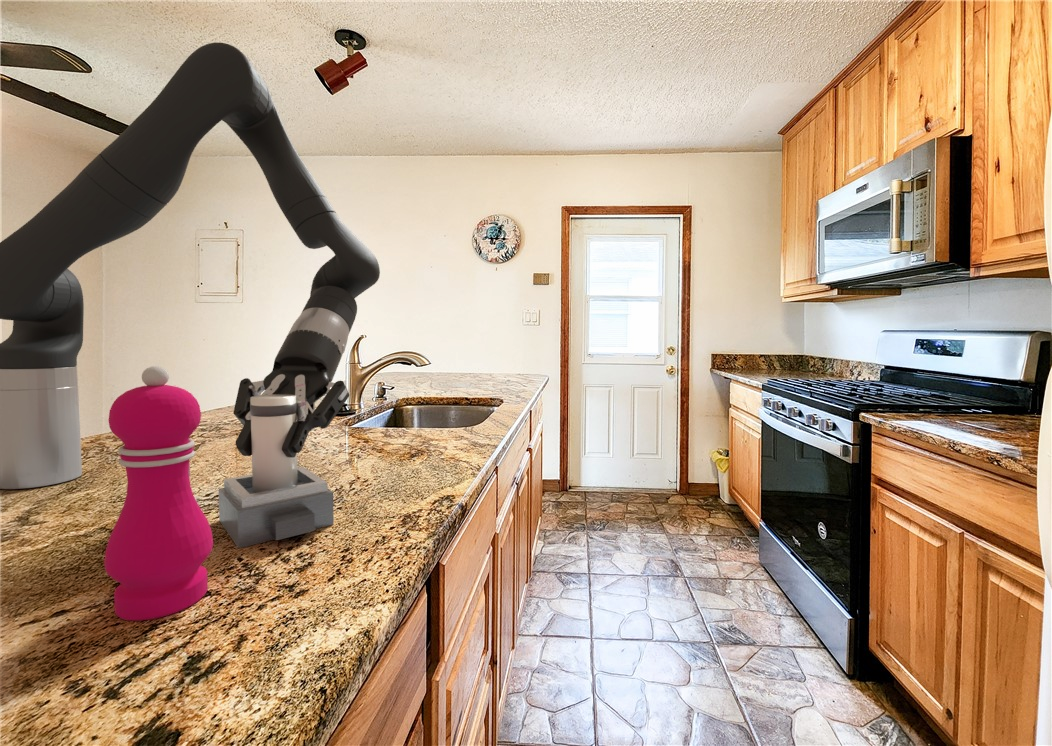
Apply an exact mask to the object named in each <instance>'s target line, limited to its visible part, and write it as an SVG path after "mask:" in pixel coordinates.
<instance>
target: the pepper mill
mask: <svg viewBox="0 0 1052 746" xmlns="http://www.w3.org/2000/svg"><path fill="white" fill-rule="evenodd" d="M169 374H170V373H169V372H168V371H167V370H166V369H165V368H164V367H162V366H159V365H158V366H157V365H155V366H154V365H153V366H149V367H147V368H146V369H144V370H143V372H142V374H141V380H142V383H144V385H142V386H136V387H134V388H131V389H129V390H127V391H125V392H123V393H122V394H120V395H118V397H116V398H115V400H114V401H113V403H112V404H111V406H110V409H109V414H108V426H109V429H110V430H111V433H113V435H114V436H115V437H117V438H118V439H119V440H121V441H122V443H123V445H122V446H120V447H119V448H118V449H117V452H118V453H119V454H120V455H119V457H120V458H119V460H118V464H119V465H120V466H122V467H125V472H126V478H127V483H126V484H127V486H126V495H125V499H124V504H123V507H122V509H121V512H120V514H119V516H118V518H117V521H116V523H115V525H114V527H113V529H112V531H111V533H110V535H109V538H108V541H107V545H106V548H105V552H104V570H105V571H106V574H107V576H109V577H110V578H111V579H113V580H114V581H116V582H118V583H120V584H119V585H118V586H117V587H116V588H115V589H114V593H113V596H114V597H113V599H114V614H115V615H116V616H117V617H118V618H120V619H121V620H125V621H131V622H132V621H133V622H134V621H135V622H136V621H138V622H139V621H148V620H149V621H150V620H154V619H159V618H163V617H166V616H169V615H173V614H176V613H178V612H180V611H182V610H185V609H187V608H189V607H191V606H193V605H194V604H196V603H197V602H199V601H200V600H201V599H202V598H203V597H204V596H205V595H206V593H207V591H208V587H209V586H208V585H209V584H208V569H207V568H206V567H205V566H203V565H202V564H203V563H204V562H205V561H206V559H208V557H209V556H210V555H211V553H212V550H213V546H214V539H213V531H212V529H211V526H210V523H209V521H208V518H207V517H206V515H205V513H204V512H203V510H202V509H201V506H200V505H199V503H198V500H197V501H196V500H195V498H194V497H195V496H194V492H193V489H192V487H191V485H192V484H191V480H190V476H189V463H190V460H191V459H193V458H194V457H195V456H196V452H195V451H194V446H195V444H196V443H195V441H194V440H193V439H192V438H191V439H190V437H191V436H192V434H193V433H195V430H197V428H198V427H199V425H200V423H201V419H202V418H201V417H202V411H201V408H200V407H201V406H200V403H199V402H198V400H197V398H196V397H195V396H194V395H193V394H192V392H189V391H188V390H186V389H184V388H182V387H180V386H176V385H175V386H174V385H169V384H167V383H168V382H169V379H170V375H169Z"/></svg>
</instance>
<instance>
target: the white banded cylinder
mask: <svg viewBox="0 0 1052 746" xmlns="http://www.w3.org/2000/svg"><path fill="white" fill-rule="evenodd" d="M250 402H251V404H250V415H251V443H252V455H251V475H252V484H253V491H254V492H256V493H258V492H264V491H269V490H274V489H280V488H285V487H291V486H296V485H298V477H297V467H298V453H296V456H295V457H287V456H286V455H285V454H284V452H283V451H282V445H283V443H284V441H285V438H286V436H287V434H288V432H289V429H290V428H291V426H292V424H293V422H297V420H296V413H297V402H296V395H290V394H271V395H259V396H253V397H250Z"/></svg>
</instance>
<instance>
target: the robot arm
mask: <svg viewBox="0 0 1052 746" xmlns="http://www.w3.org/2000/svg"><path fill="white" fill-rule="evenodd" d="M220 122H224V123H225V124H226V125H227V126H228V127H229V128H230V129H231V130H232V131H233V132H234V134H236V136H237V137H238V138H239V139H240V140H241V142H242V143H243V144H244V145H245V146H246V148H247V149H248V150H249V152H250V153H251V154H252V156H253V157H254V159H255V160H256V162H257V164H258V165H259V167H260V169H261V171H262V173H263V175H264V177H265V180H266V181H267V183H268V186H269V188H270V191H271V193H272V195H273V197H274V199H275V201H276V203H277V205H278V207H279V208H280V210H281V212H282V214H283V216H284V218H286V220H287V222H288V223H289V225H290V227H291V228H292V230H293V231H294V233H295V234H296V236H297V238H298V239H299V240H300V242H301V243H302V245H304V246H305V248H308V249H312V250H316V249H321V248H324V247H328V248H329V249H330V250H331V251H332V252H333V254H334V256H332V257H331V258H330V259H329V260H328V261H326V262H325V263H324V264H322V265H321V266H320V267H319V269H318V270H317V272H316V274H314V278H313V280H312V284H311V286H310V287H311V289H310V296H309V298H308V300H307V301H306V304H305V306H304V307H303V309H302V311H301V313H300V315H299V316H298V317H297V319H296V320H295V321H294V323H293V324H292V326H291V327H290V330H289V331H288V334H287V335H286V337H285V339H284V341H283V343H282V344H281V347H280V349H279V351H278V352H277V354H276V356H275V358H274V362H273V368H272V370H271V372H269V374H268V375H266V376H265V377H264V378H263V379H262V380H259V381H258V380H257V381H253V382H252V381H251V379H250V378H248V377H246V378H243V379H241V380H240V382H239V387H238V390H237V395H236V398H235V403H234V408H233V415H234V416H235V417H236V418H237V419H238V421H239V422H240V424H242V426H243V427H242V428H241V430H240V433H239V434H238V436H237V438H236V440H235V446H236V449H237V451H238V452H239V453H240V454H241V455H242V456H243V457H252V443H251V415H250V404H251V402H250V397H253V396H259V395H271V394H290V395H296V402H297V413H296V420H297V422H293V424H292V426H291V428H290V429H289V432H288V434H287V436H286V438H285V441H284V443H283V445H282V451H283V452H284V454H285V455H286V456H287V457H295V456H296V453H297V454H299V453H300V452H301V451H302V450H303V448H304V445H305V442H307V441H306V440H307V438H308V436H309V433H310V432H312V431H313V429H316V428H320V429H323V430H324V429H326V428H328V427H329V426H330V424H331V423H332V421H333V420H334V418H335V417H336V416H337V414H338V413H339V411H340V410H341V409H342V407H343V406H344V405H345V403H347V402H346V401H347V400H348V399H349V397H350V392H349V389H348V388H347V386H346V384H345V382H344V381H343V380H337V381H335V382H333V380H334V377H335V374H336V373H337V369H338V367H339V365H340V362H341V359H342V357H343V355H344V353H345V351H346V347H347V343H348V340H349V335H350V334H351V330H352V327H353V325H354V322H355V321H356V317H357V313H358V305H357V301H356V298H357V297H358V296H359V295H361V294H362V293H364V292H366V291H367V290H368V289H370V288H371V287H373V286H374V285H375V284H377V282H378V281H379V278H380V274H381V271H380V268H381V267H380V265H379V262H378V259H377V257H376V256H375V254H374V253H373V252H372V250H370V248H369V247H368V246H367V245H366V244H365V243H364V242H363V241H361V240H360V239H359V238H358V237H357V236H356V235H355V234H354V233H353V232H352V230H351V229H350V228H349V227H348V226H347V225H345V224H344V223H343V221H342V220H341V219H340V217H339V216H338V214H337V212H336V210H335V209H334V207H333V206H332V205H331V203H330V201H329V199H328V198H327V195H326V194H325V193H324V191H323V189H322V188H321V187H320V185H319V183H318V182H317V180H316V179H315V177H314V176H313V174H312V173H311V172H310V170H309V169H308V167H307V165H306V164H305V162H304V161H303V160H302V158H301V157H300V155H299V152H298V151H297V150H296V148H295V147H294V144H293V143H292V140H291V139H290V137H289V135H288V133H287V131H286V128H285V126H284V124H283V121H282V119H281V117H280V114H279V112H278V109H277V107H276V104H275V102H274V100H273V98H272V94H271V92H270V88H269V87H268V85H267V83H266V81H265V80H264V78H263V77H262V76H261V74H260V73H259V72H258V70H257V69H256V68H255V66H254V65H253V63H252V62H251V61H250V60H249V59H248V57H247V56H246V55H245V54H244V53H243V52H242V51H241V50H240V49H239V48H237V47H235V46H234V45H232V44H230V43H227V42H226V43H225V42H217V41H216V42H211V43H206V44H204V45H202V46H200V47H198V48H196V49H195V50H194V51H193V52H192V53H191V54H190V55H189V56H188V57H187V58H186V59H185V61H184V62H183V63H182V64H181V65H180V66H179V68H178V69H177V70H176V71H175V73H174V74H173V76H172V77H171V78H170V80H169V81H168V82H167V83H166V85H165V86H164V87H163V89H162V90H161V91H160V93H158V95H157V96H156V97H155V98H154V100H152V102H151V103H150V104H149V105H148V107H146V108H145V109H144V111H142V112H141V113H140V114H139V115H138V116H137V117H136V118H135V119H134V120H133V121H132V122H131V123H130V124H129V125H128V126H127V127H126V129H124V130H123V131H122V133H120V135H119V136H117V138H115V139H114V140H113V141H112V142H111V143H110V144H109V145H107V146H106V147H105V148H104V149H102V150H101V152H99V153H98V154H97V156H96V157H94V158H93V159H92V160H91V161H90V162H89V163H88V164H87V165H86V166H85V167H84V168H83V169H82V170H81V171H80V172H79V173H78V174H77V176H76V177H74V179H73V180H72V181H71V182H69V184H68V185H67V186H66V187H65V188H63V190H61V191H60V192H58V194H57V195H56V196H54V198H52V199H51V200H50V201H49V202H48V203H47V204H46V205H45V206H44V207H43V208H42V209H41V210H39V211H38V212H37V213H36V214H35V215H34V216H33V217H32V218H30V219H29V220H28V221H26V222H25V223H24V224H23V225H22V226H20V227H19V228H18V229H17V230H15V231H14V232H13V233H11V234H10V235H8V236H7V237H5V238H4V239H3V240H1V242H0V320H5V321H6V320H7V321H12V331H11V334H10V335H9V336H8V337H7V338H6V339H5V340H3V341H2V342H0V489H1V490H18V489H20V490H21V489H31V488H40V487H46V486H51V485H55V484H60V483H64V482H69V481H72V480H75V479H78V478H79V477H81V476H83V475H82V474H83V470H82V469H83V467H82V466H83V465H82V443H81V442H82V440H81V422H80V421H81V420H80V417H81V416H80V399H79V385H78V384H79V382H78V380H79V379H78V361H77V360H78V355H79V353H80V351H81V349H82V347H83V342H84V311H85V310H84V309H85V308H84V294H83V289H82V286H81V283H80V281H79V279H78V278H77V276H76V275H75V274H74V272H72V271H71V270H70V269H69V268H70V267H71V266H72V265H73V264H74V263H75V262H76V261H78V260H79V259H80V258H82V257H83V256H84V255H87V254H88V253H90V252H92V251H93V250H96V249H98V248H100V247H103V246H105V245H107V244H109V243H112V242H114V241H116V240H119V239H121V238H123V237H126V236H128V235H130V234H132V233H134V232H135V231H137V230H139V229H141V228H142V227H144V226H145V225H146V224H148V223H149V222H150V221H152V219H154V217H156V216H157V215H158V214H159V213H160V211H162V210H163V209H164V208H165V207H166V206H167V205H168V204H169V203H170V202H171V201H172V199H173V198H174V197H175V196H176V195H177V193H178V191H179V189H180V187H181V185H182V183H183V180H184V177H185V175H186V172H187V168H188V165H189V162H190V159H191V156H192V154H193V152H194V150H195V149H196V147H197V145H198V144H199V143H200V141H201V140H202V139H203V138H204V137H205V135H207V134H208V133H209V132H210V131H211V130H212V129H213V128H214V127H215V126H216V125H218V124H219V123H220ZM322 397H323V399H322V400H321V401H320V403H318V404H317V406H316V403H317V401H318V400H320V399H321V398H322Z"/></svg>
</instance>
